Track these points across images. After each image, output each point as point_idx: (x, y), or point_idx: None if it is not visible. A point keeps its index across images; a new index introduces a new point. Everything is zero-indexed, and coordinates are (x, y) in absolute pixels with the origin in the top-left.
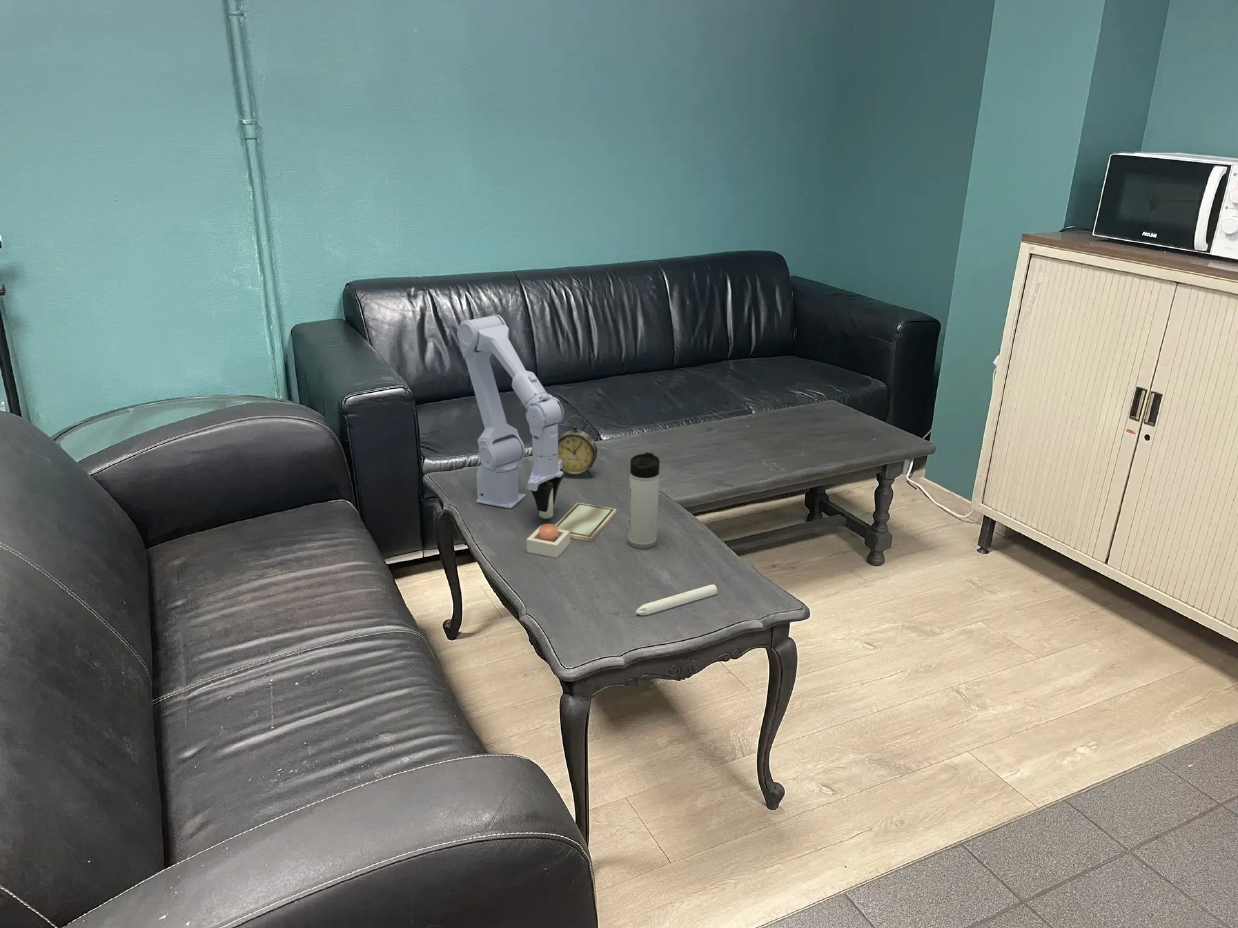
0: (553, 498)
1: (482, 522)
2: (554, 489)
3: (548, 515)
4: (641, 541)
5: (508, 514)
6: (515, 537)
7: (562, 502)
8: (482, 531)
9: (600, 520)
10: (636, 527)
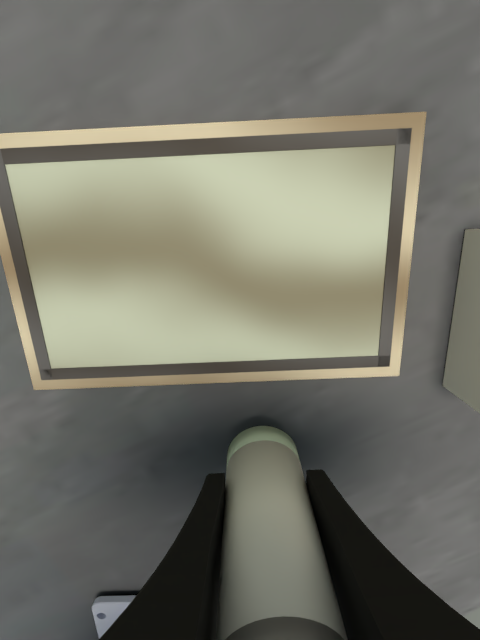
0: (220, 509)
1: None
2: (208, 579)
3: (290, 444)
4: None
5: None
6: (464, 477)
7: (57, 452)
8: (445, 591)
9: (173, 166)
10: None
